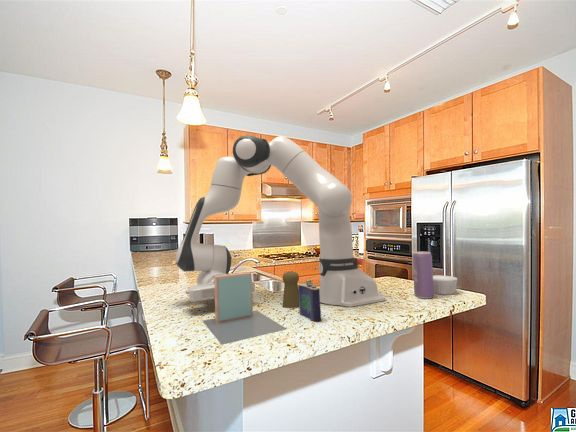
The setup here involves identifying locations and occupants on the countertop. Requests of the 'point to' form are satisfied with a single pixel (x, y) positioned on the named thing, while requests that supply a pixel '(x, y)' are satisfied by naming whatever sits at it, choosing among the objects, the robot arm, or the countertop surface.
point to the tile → (233, 296)
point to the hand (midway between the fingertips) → (229, 294)
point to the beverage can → (423, 275)
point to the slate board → (243, 328)
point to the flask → (309, 301)
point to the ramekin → (444, 284)
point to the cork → (291, 290)
